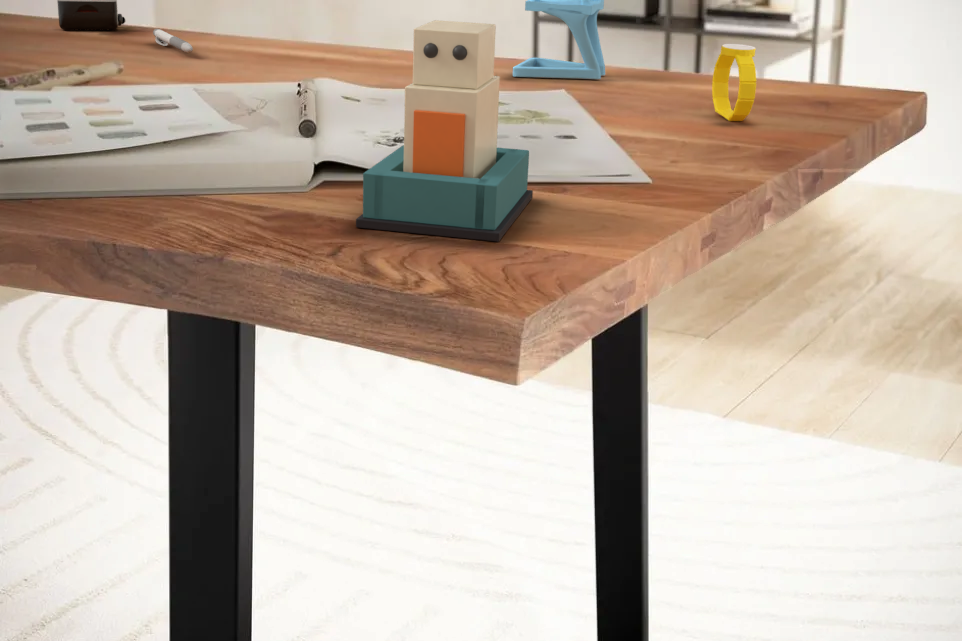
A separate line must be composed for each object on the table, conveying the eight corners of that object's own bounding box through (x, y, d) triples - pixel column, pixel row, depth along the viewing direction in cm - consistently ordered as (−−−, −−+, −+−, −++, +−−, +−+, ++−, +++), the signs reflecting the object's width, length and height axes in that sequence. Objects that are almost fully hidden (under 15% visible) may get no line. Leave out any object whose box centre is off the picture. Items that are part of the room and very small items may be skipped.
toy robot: (429, 188, 74) (434, 18, 70) (494, 194, 73) (502, 22, 70) (401, 214, 68) (404, 30, 65) (471, 220, 67) (478, 35, 64)
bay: (405, 186, 76) (406, 138, 75) (532, 198, 75) (535, 149, 74) (355, 227, 67) (355, 173, 66) (498, 242, 65) (501, 187, 64)
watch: (701, 111, 105) (708, 40, 103) (731, 111, 106) (739, 41, 104) (728, 125, 99) (736, 50, 97) (760, 125, 100) (768, 51, 98)
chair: (595, 83, 117) (604, -48, 112) (511, 76, 119) (517, -53, 115) (609, 72, 124) (618, -52, 120) (529, 66, 126) (536, -56, 122)
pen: (160, 40, 133) (159, 26, 132) (196, 58, 122) (196, 44, 121) (150, 40, 133) (150, 27, 132) (186, 59, 121) (186, 44, 121)
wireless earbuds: (125, 31, 139) (124, 1, 137) (59, 30, 137) (56, 1, 136) (126, 26, 143) (124, -3, 142) (61, 25, 141) (59, -4, 140)
